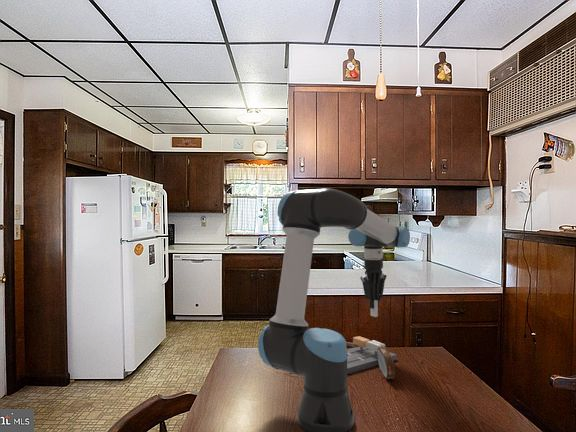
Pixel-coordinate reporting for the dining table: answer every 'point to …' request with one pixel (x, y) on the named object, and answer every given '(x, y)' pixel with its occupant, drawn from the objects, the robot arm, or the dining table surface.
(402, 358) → the dining table surface
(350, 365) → the console
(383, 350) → the tin
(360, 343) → the fader orange
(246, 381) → the dining table surface
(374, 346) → the fader cream
